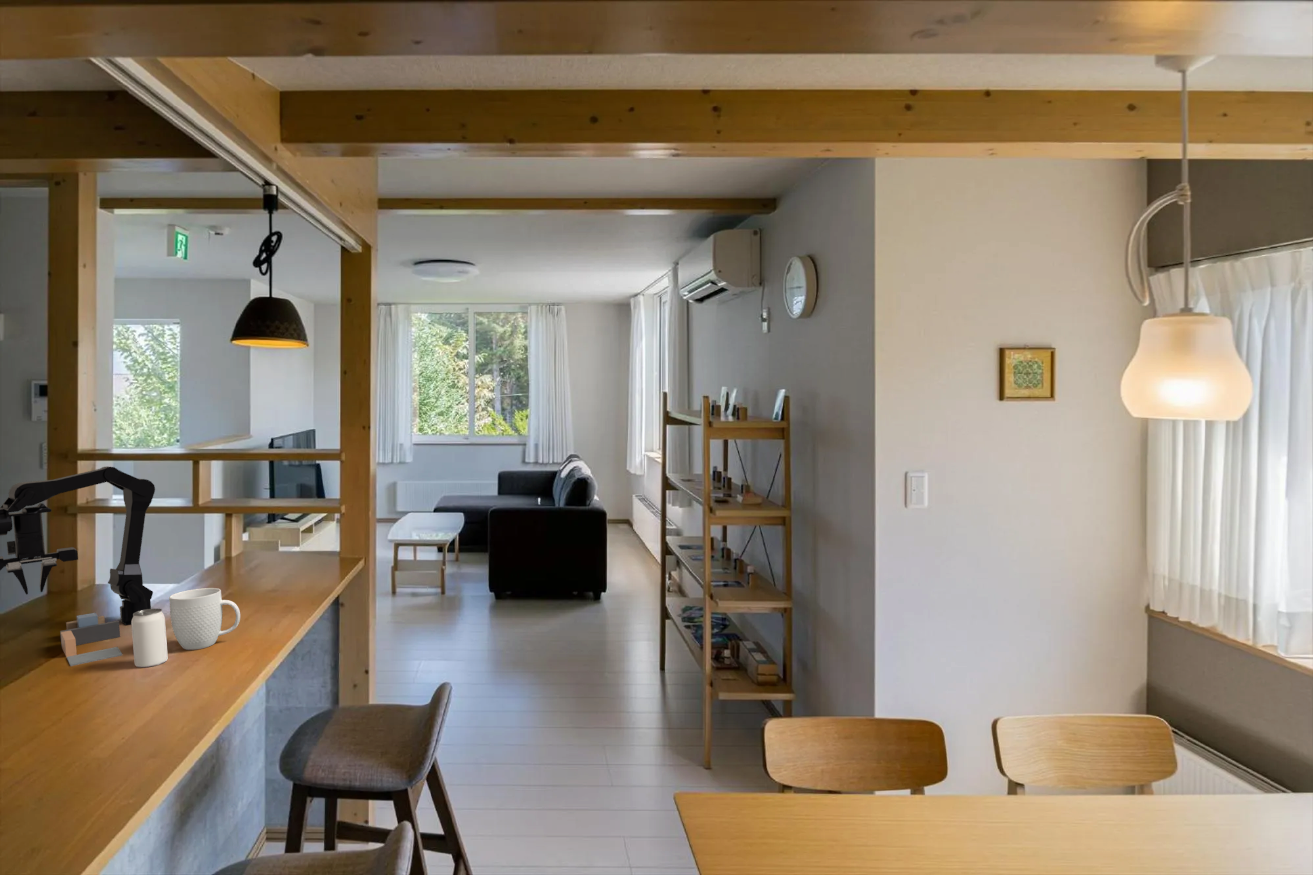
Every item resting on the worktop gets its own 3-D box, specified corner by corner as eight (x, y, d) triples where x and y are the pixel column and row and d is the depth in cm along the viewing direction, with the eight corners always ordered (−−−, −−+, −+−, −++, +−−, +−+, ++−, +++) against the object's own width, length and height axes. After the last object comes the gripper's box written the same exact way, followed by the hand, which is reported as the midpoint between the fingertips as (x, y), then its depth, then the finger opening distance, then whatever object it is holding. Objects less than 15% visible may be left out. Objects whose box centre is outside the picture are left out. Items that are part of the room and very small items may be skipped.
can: (174, 659, 184) (170, 608, 183) (148, 669, 178) (144, 616, 177) (154, 657, 186) (150, 607, 186) (127, 666, 180) (123, 614, 179)
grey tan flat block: (119, 635, 205) (118, 620, 205) (126, 645, 196) (125, 629, 196) (61, 646, 197) (60, 631, 197) (66, 657, 189) (65, 640, 188)
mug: (245, 634, 202) (241, 583, 202) (238, 646, 192) (234, 593, 191) (178, 642, 197) (174, 591, 197) (168, 655, 187) (163, 601, 186)
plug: (97, 635, 207) (95, 612, 207) (99, 638, 204) (97, 615, 204) (78, 638, 205) (76, 615, 204) (80, 641, 202) (78, 618, 201)
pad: (117, 648, 194) (117, 646, 194) (122, 655, 188) (122, 653, 188) (66, 658, 188) (66, 656, 188) (70, 666, 182) (70, 664, 182)
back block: (104, 630, 211) (103, 615, 211) (105, 631, 210) (104, 617, 210) (67, 637, 206) (66, 622, 206) (68, 639, 204) (66, 623, 204)
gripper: (71, 523, 212) (75, 581, 213) (-21, 534, 200) (-15, 595, 201) (75, 527, 204) (80, 587, 205) (-20, 539, 192) (-14, 602, 192)
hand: (34, 593), depth 201 cm, fingers open, 3 cm apart
